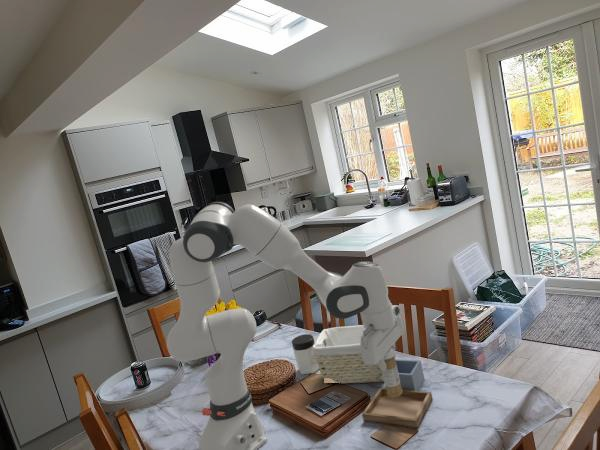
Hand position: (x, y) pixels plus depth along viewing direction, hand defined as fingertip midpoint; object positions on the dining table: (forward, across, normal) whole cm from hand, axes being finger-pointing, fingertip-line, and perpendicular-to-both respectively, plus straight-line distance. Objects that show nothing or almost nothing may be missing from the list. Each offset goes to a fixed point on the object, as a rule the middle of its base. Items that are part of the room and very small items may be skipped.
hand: (388, 363), depth 131 cm
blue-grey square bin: (+15, +14, +3) cm, 21 cm away
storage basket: (+15, +19, +23) cm, 33 cm away
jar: (+15, +19, +43) cm, 50 cm away
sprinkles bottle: (+9, 0, 0) cm, 9 cm away
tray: (+15, +1, +1) cm, 15 cm away
